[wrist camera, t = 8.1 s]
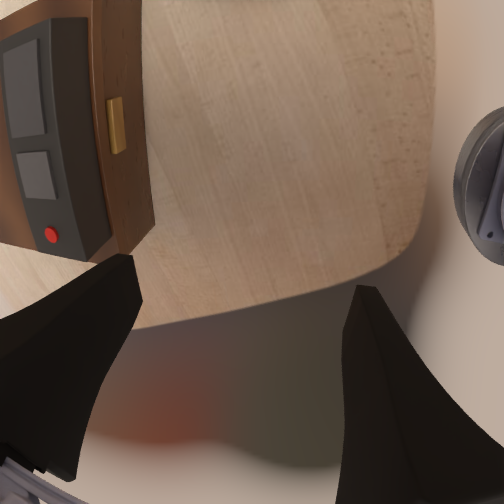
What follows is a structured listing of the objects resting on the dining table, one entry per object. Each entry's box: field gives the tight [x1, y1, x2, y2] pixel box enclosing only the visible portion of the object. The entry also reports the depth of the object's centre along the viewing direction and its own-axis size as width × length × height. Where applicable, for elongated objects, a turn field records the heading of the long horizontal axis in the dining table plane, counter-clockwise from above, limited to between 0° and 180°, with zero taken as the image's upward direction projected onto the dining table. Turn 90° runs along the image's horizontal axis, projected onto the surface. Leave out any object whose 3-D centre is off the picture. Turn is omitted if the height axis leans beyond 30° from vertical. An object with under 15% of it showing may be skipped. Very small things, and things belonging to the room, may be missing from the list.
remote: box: [0, 17, 112, 262], centre depth 13 cm, size 12×4×3 cm, turn 179°
